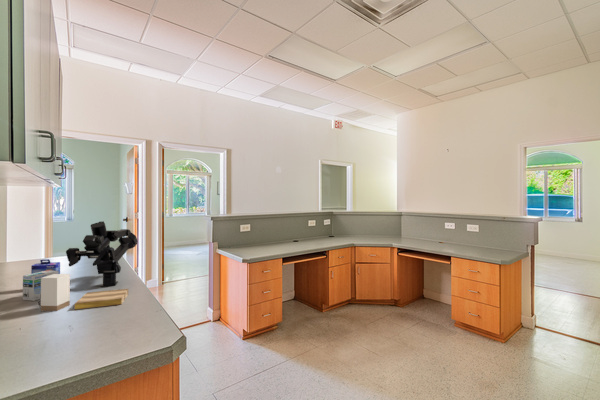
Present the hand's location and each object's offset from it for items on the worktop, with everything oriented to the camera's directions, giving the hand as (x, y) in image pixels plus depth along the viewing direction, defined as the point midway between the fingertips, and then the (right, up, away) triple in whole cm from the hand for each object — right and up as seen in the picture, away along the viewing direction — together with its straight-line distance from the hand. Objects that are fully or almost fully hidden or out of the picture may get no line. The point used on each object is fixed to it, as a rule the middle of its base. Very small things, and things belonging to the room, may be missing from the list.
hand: (81, 265), depth 121 cm
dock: (+9, -16, +1) cm, 18 cm away
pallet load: (-5, -16, -7) cm, 18 cm away
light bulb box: (-23, -16, +6) cm, 29 cm away
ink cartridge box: (-32, -16, +19) cm, 41 cm away
